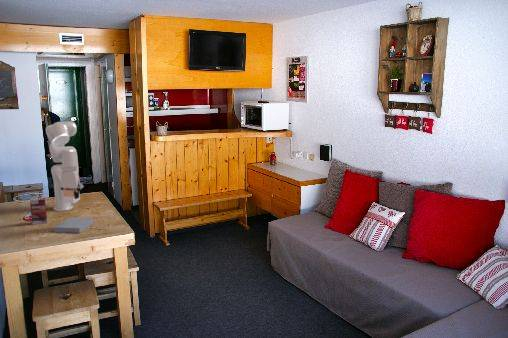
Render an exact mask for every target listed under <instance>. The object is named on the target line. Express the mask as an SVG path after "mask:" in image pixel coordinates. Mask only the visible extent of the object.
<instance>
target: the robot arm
mask: <svg viewBox="0 0 508 338" xmlns="http://www.w3.org/2000/svg"><path fill="white" fill-rule="evenodd" d="M77 129H78V127H77V124H76V123H75V122H74V121H71V120H70V121H69V120H68V121H57V122H54V123H53V124H49V125H47V126H46V127H45V135H46V136H47V138H48V140H49V142H50V144H49V152H50V157H51V158H52V161H53V163H56V164H55V165H52V167H51V169H50V172H51V175H52V180H53V190H54V201H55V206H54V207H53V211H55V212H65V211H69V210H73V208H74V205H73V204H72V203H64V197H63V190H64V189H66V188H74V189H75V191H76V192H75V199H77V198H79V193H80V191H81V190H82V189H83V188H84V184H83V183H82V182H81V181H80V175H79V171H80V170H79V161H78V159H79V158H78V152H77V149H76V148H75V147H74V146H71V145H70V146H69V145H68V146H65V145H66V144H67V143H69V141H70V138H71V137H73V136H75V135H76V134H77V132H78V131H77ZM57 163H58V164H57ZM78 187H79V188H78Z"/></svg>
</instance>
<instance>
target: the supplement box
mask: <svg viewBox="0 0 508 338" xmlns="http://www.w3.org/2000/svg"><path fill="white" fill-rule="evenodd" d="M29 203H30V205H29V206H30V215H31V225H32V226H33V225H39V224H40V225H42V224H47V223H48V219H47V208H46V207H47V206H46V205H47V204H46V197H34V198H30V199H29Z"/></svg>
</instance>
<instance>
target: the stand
mask: <svg viewBox="0 0 508 338" xmlns="http://www.w3.org/2000/svg"><path fill="white" fill-rule="evenodd" d="M93 224H94V218H86V217H82V218H81V217H68V218H66V219H64V220H63V221H61V222H59V223H58V224H56V225H54V227H53V232H54V233H73V234H75V233H76V234H81V233H82V232H83V231H85V230H87V228H89V227H90V226H91V225H93Z"/></svg>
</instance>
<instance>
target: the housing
mask: <svg viewBox="0 0 508 338" xmlns="http://www.w3.org/2000/svg"><path fill="white" fill-rule="evenodd" d="M79 187H80V186H79ZM79 187H78V188H79ZM75 192H76V191H75V189H74V188H66V189H64V190H63V197H64V203H70V204H75V203H77V202H79V201H80V200H81V196H80V192H79V198H77V199H75Z"/></svg>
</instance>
